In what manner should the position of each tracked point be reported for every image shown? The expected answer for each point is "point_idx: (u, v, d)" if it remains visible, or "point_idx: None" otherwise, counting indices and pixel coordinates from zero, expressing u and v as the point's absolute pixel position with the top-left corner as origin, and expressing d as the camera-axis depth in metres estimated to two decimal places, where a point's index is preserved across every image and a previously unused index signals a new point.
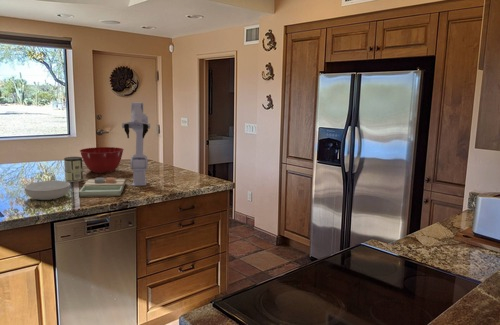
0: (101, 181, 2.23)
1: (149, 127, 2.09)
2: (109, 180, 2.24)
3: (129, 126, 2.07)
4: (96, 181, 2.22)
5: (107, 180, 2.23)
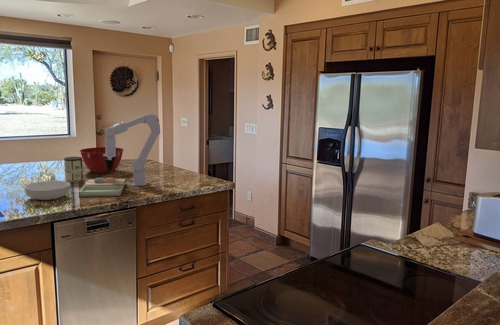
0: (101, 181, 2.23)
1: (109, 159, 2.24)
2: (109, 180, 2.24)
3: None
4: (96, 181, 2.22)
5: (107, 180, 2.23)
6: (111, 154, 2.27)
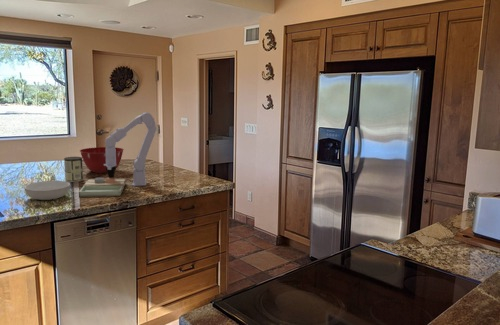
0: (101, 181, 2.23)
1: (109, 169, 2.22)
2: (109, 180, 2.24)
3: None
4: (96, 181, 2.22)
5: (107, 180, 2.23)
6: (111, 164, 2.25)
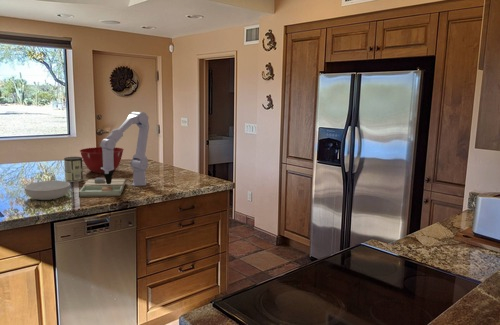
0: (101, 181, 2.23)
1: (107, 173, 2.11)
2: None
3: None
4: (96, 181, 2.22)
5: None
6: (109, 167, 2.15)
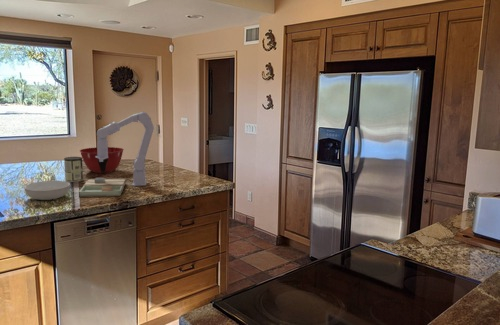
0: (101, 181, 2.23)
1: (101, 161, 2.20)
2: None
3: None
4: (96, 181, 2.22)
5: None
6: (103, 156, 2.23)
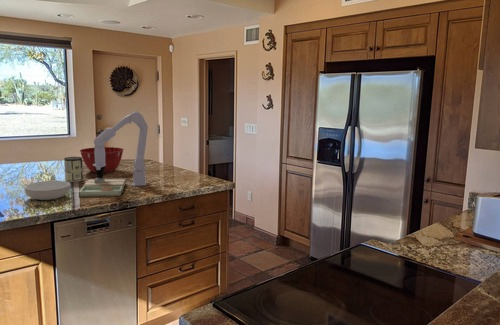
0: (101, 181, 2.22)
1: (98, 169, 2.20)
2: None
3: None
4: (96, 181, 2.22)
5: None
6: (100, 164, 2.24)
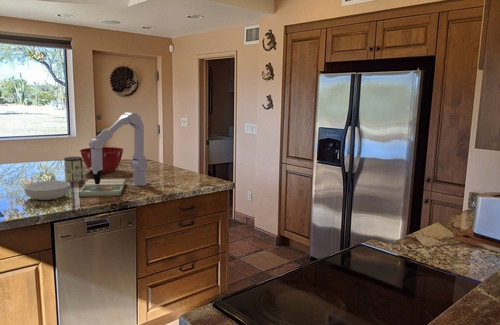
0: None
1: (95, 173, 2.09)
2: None
3: None
4: None
5: None
6: (97, 167, 2.13)
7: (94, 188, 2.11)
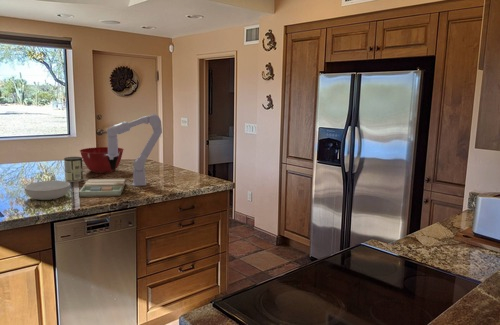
0: None
1: None
2: None
3: None
4: None
5: None
6: (113, 154, 2.26)
7: (94, 188, 2.11)
